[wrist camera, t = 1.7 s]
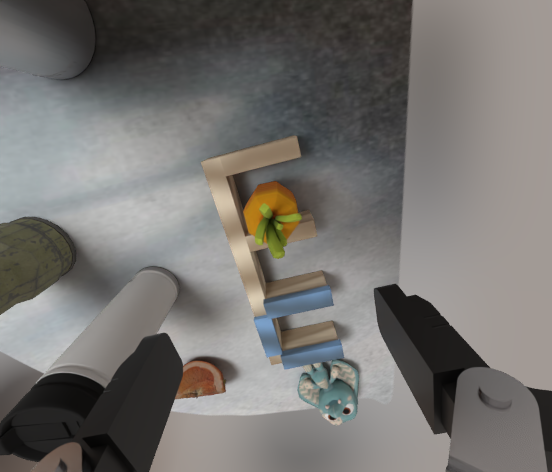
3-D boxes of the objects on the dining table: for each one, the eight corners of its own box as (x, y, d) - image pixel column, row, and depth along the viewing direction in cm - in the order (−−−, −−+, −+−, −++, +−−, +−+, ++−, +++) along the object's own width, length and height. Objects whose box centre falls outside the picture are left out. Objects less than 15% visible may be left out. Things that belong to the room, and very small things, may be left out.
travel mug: (126, 266, 35) (-31, 418, 17) (175, 264, 35) (71, 413, 17) (137, 304, 38) (10, 474, 19) (183, 302, 38) (99, 470, 19)
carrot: (254, 166, 31) (241, 197, 17) (295, 174, 31) (316, 211, 17) (248, 206, 32) (231, 264, 19) (287, 213, 33) (298, 275, 19)
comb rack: (208, 158, 30) (197, 163, 26) (295, 134, 29) (300, 136, 25) (271, 344, 41) (271, 372, 36) (335, 331, 40) (344, 357, 36)
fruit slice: (225, 350, 41) (219, 378, 37) (233, 380, 44) (229, 409, 39) (174, 356, 42) (162, 385, 37) (185, 386, 44) (175, 416, 40)
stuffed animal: (344, 364, 36) (386, 427, 38) (336, 333, 43) (372, 387, 45) (278, 395, 38) (321, 453, 40) (281, 361, 45) (317, 412, 47)
